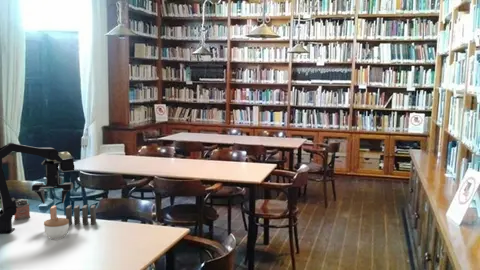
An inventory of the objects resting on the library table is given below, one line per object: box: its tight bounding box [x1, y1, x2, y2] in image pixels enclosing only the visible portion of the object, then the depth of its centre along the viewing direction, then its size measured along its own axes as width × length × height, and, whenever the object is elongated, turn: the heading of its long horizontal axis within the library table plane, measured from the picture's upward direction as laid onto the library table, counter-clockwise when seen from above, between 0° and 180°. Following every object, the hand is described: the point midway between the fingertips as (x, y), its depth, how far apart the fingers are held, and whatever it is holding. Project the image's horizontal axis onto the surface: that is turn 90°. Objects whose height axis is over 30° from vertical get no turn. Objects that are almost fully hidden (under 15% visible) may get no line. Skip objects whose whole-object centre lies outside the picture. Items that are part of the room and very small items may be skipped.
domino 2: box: [65, 204, 73, 226], centre depth 229 cm, size 5×2×9 cm, turn 6°
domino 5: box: [89, 204, 97, 226], centre depth 230 cm, size 5×2×9 cm, turn 6°
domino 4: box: [81, 204, 89, 226], centre depth 230 cm, size 5×2×9 cm, turn 6°
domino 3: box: [73, 204, 81, 226], centre depth 229 cm, size 5×2×9 cm, turn 6°
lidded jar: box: [43, 216, 70, 240], centre depth 208 cm, size 11×11×9 cm
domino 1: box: [49, 205, 58, 219], centre depth 228 cm, size 5×2×9 cm, turn 6°
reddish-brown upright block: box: [13, 199, 31, 221], centre depth 238 cm, size 8×3×10 cm, turn 141°
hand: (53, 203), depth 227 cm, fingers open, 9 cm apart
